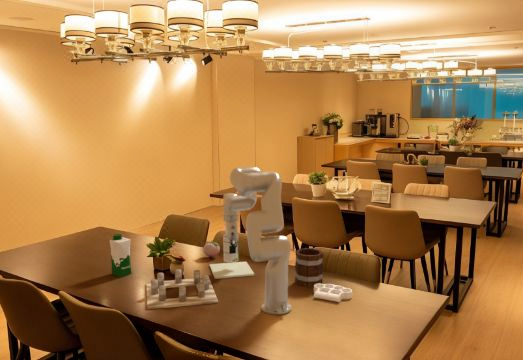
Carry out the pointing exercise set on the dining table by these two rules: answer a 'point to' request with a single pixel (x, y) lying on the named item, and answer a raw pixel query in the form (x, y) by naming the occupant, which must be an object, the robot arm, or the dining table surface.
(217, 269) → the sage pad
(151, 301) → the post board
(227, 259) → the syrup box
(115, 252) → the milk carton
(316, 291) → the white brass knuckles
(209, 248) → the decorative fruit
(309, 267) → the mug
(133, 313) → the dining table surface
